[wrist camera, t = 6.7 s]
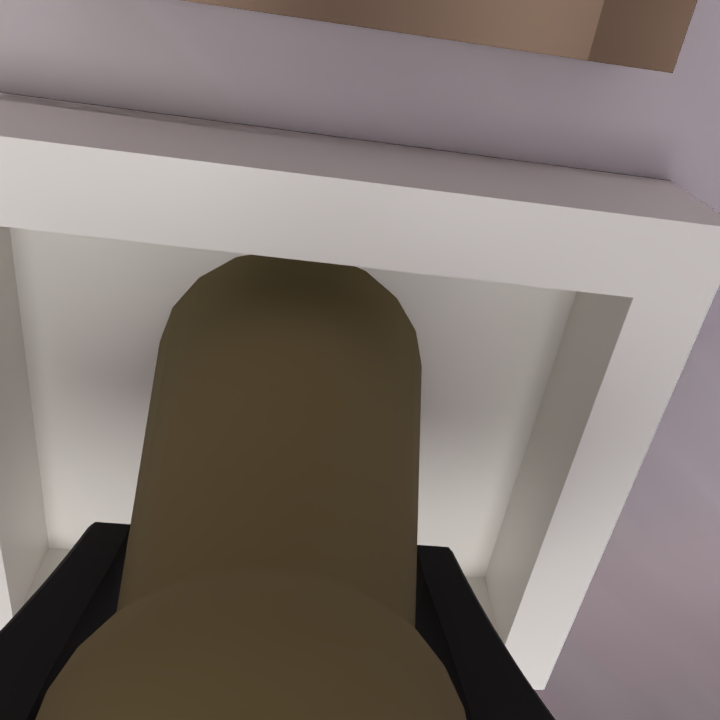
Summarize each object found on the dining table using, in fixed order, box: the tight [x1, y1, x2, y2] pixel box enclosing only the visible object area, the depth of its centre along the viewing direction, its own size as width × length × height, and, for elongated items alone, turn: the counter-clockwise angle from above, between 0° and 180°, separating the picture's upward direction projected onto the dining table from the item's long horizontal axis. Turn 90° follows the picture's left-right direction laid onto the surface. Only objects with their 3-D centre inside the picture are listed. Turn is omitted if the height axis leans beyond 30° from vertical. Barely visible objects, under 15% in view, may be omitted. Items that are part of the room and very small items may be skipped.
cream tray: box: [0, 93, 720, 690], centre depth 16 cm, size 15×13×3 cm
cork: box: [35, 255, 466, 720], centre depth 11 cm, size 6×6×11 cm
